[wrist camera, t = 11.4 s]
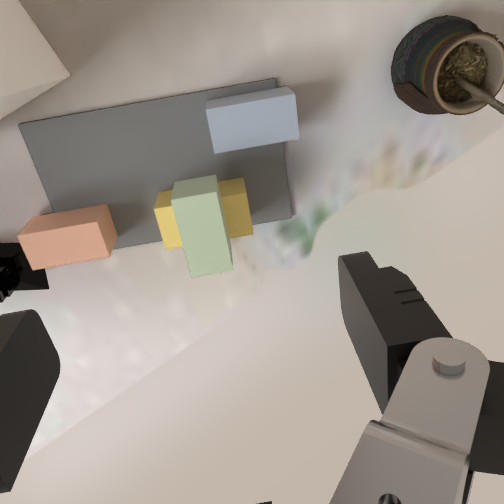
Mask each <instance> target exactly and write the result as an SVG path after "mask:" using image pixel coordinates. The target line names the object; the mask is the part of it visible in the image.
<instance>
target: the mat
mask: <svg viewBox="0 0 504 504" xmlns="http://www.w3.org/2000/svg"><path fill="white" fill-rule="evenodd" d="M274 88H276V85H275V79H274V78H272V79H267V80H261V81H256V82H250V83H245V84H239V85H233V86H228V87H222V88H217V89H211V90H205V91H200V92H194V93H189V94H183V95H177V96H172V97H166V98H161V99H155V100H150V101H144V102H138V103H133V104H127V105H122V106H116V107H110V108H105V109H99V110H94V111H88V112H82V113H77V114H71V115H66V116H60V117H55V118H49V119H43V120H38V121H32V122H27V123H21V124H18V126H19V129H20V131H21V133H22V136H23V138H24V141H25V143H26V146H27V148H28V151H29V153H30V155H31V158H32V160H33V163H34V165H35V168H36V170H37V172H38V175H39V177H40V180H41V182H42V185H43V187H44V189H45V192H46V194H47V197H48V199H49V202H50V204H51V207H52V209H53V211H54V213H58V212H63V211H69V210H75V209H80V208H86V207H92V206H97V205H103V204H107V206H108V209H109V212H110V215H111V218H112V220H113V223H114V226H115V229H116V232H117V235H118V238H117V241H116V243H115V245H114V248H113V249H119V248H124V247H130V246H136V245H141V244H147V243H153V242H158V241H163V239H162V236H161V232H160V229H159V225H158V222H157V219H156V215H155V212H154V207H155V203H156V200H157V197H158V193H159V192H163V191H169V190H173V186H174V182H177V181H182V180H188V179H193V178H199V177H204V176H210V175H216V176H217V181H218V182H219V181H225V180H231V179H236V178H242V177H244V182H245V188H246V193H247V199H248V205H249V210H250V216H251V222H252V225H255V224H260V223H266V222H272V221H277V220H283V219H289V218H292V213H291V205H290V197H289V189H288V181H287V173H286V165H285V157H284V149H283V142H278V143H273V144H267V145H262V146H256V147H250V148H245V149H239V150H233V151H228V152H222V153H217V154H214V149H213V144H212V139H211V134H210V129H209V124H208V119H207V114H206V101H207V100H212V99H218V98H223V97H229V96H235V95H240V94H246V93H251V92H257V91H263V90H268V89H274Z"/></svg>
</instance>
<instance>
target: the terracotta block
mask: <svg viewBox="0 0 504 504" xmlns="http://www.w3.org/2000/svg"><path fill="white" fill-rule="evenodd" d="M17 238H18V240H19V242H20V244H21V246H22V249H23V251H24V253H25V255H26V257H27V259H28V261H29V263H30V266H31V268H32V270H38V269H43V268H49V267H55V266H60V265H66V264H72V263H77V262H83V261H89V260H94V259H100V258H106V257H110V255H111V252H112V250H113V248H114V245H115V243H116V241H117V238H118V235H117V232H116V229H115V226H114V223H113V220H112V218H111V215H110V212H109V209H108V206H107V204H103V205H97V206H92V207H86V208H80V209H75V210H69V211H63V212H58V213H52V214H46V215H41V216H35V217H33V218H32V219H31V220H30V221H29V222H28V223H27V225H26V226H25V227H24V228H23V229H22V230H21V231H20V233H19V234H18V235H17Z"/></svg>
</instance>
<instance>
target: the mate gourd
mask: <svg viewBox="0 0 504 504" xmlns="http://www.w3.org/2000/svg"><path fill="white" fill-rule="evenodd" d="M495 36H496V34H495V35H493V34H490V33H487V32H483V31H481V30H480V29H479V28H478V27H477V25H476V24H474V23H473V22H472V21H470V20H466V19H463V18H460V17H456V16H447V15H445V16H442V17H435V18H433V19H430V20H427V21H425V22H423V23H422V24H420V25H418V26H417V27H415V28H413V29H412V30H411V31H410V32H408V34H407V35H406V36H405V37H404V38H403V39H402V41H401V42H400V44H399V45H398V47H397V48H396V51H395V52H394V56H393V60H392V66H391V77H392V82H393V86H394V91H395V93H396V94H397V96H398V98H399V99H400V100H402V101H403V102H404V103H405V104H407V105H408V106H410V107H411V108H412V109H413V110H415V111H417V112H419V113H424V114H445V113H450V114H454V115H466V114H470V113H473V112H476V111H478V110H480V109H482V108H483V107H484V106H486V105H487V104H489V105H490V106H491V107H493V108H495V109H496V110H497V111H499V112H500V113H501V114H504V104H503V103H501V102H499V101H498V100H496V99H495V98H494V97H495V96H496V95H497V93H498V92H499V91H500V89H501V87H502V85H503V83H504V45H503V43H502V42H499V41H497V40H498V38H496V37H495Z"/></svg>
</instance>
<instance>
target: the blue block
mask: <svg viewBox="0 0 504 504" xmlns="http://www.w3.org/2000/svg"><path fill="white" fill-rule="evenodd" d="M206 114H207V119H208V124H209V129H210V134H211V139H212V144H213V149H214V154H217V153H222V152H228V151H233V150H239V149H245V148H250V147H256V146H262V145H267V144H273V143H278V142H284V141H290V140H295V139H300V135H299V126H298V116H297V106H296V97H295V93H294V92H293V91H292V90H291V89H290V88H289V87H288V86H285V87H279V88H274V89H268V90H263V91H257V92H251V93H246V94H240V95H235V96H229V97H223V98H218V99H212V100H207V101H206Z"/></svg>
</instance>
